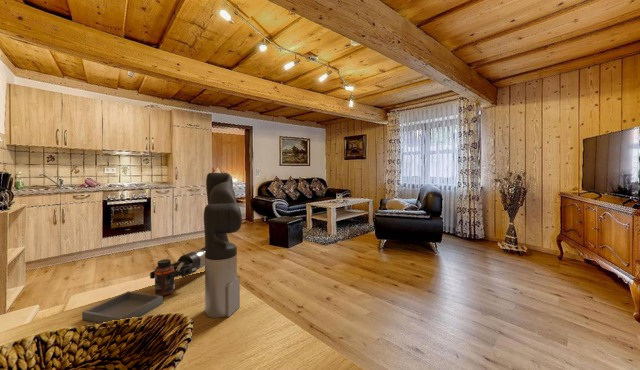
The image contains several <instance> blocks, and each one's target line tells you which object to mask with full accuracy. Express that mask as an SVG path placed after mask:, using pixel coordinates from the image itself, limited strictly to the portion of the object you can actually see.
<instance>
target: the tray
mask: <svg viewBox="0 0 640 370" xmlns="http://www.w3.org/2000/svg"><path fill="white" fill-rule="evenodd" d="M163 296H164V295H156V294H152V293H151V294H150V293H144V292H143V293H142V292H136V291H126V292H123V293H121V294H119V295H117V296H115V297H112V298H111V299H108V300H106V301H103V302H102V303H100V304H97V305H95V306H93V307H90V308H89V309H85V310H83V311H82V312H81V315H82V316H81V317H82V319H81V320H82V322H88V323H91V324H92V323H94V324H98V323H103V322H108V321H112V320H120V319H126V318H132V317H139V318H140V317H142V316H144V315H146V314H148V313H149V312H151V311H153V310H154V309H156V308H157V307H159V306H161V305H163V304H164V299H163Z"/></svg>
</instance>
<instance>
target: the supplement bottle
mask: <svg viewBox="0 0 640 370" xmlns="http://www.w3.org/2000/svg"><path fill="white" fill-rule="evenodd" d="M171 262H172V260H171V259H170V258H165V259H160V260H158V261H157V266H158V267H157V266H156V267H157V268H156V267H155V269H154V271H155V278H154V293H155V294H154V295H159V296H167V295H170V294H172V293H173V292H174V291H175V290H176V288H175V278H173V279H171V280H166V274H168V273H170V272H172V271H174V266H173V265H171Z"/></svg>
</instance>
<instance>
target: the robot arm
mask: <svg viewBox="0 0 640 370" xmlns="http://www.w3.org/2000/svg"><path fill="white" fill-rule="evenodd" d="M233 183H234V182H233V178H232V175H231V174H230V173H228V172H209V173H207V175H206V180H205V186H206V198H207V204H206V205H205V207H204V209H203V210H204V211H203V228H204V246H203V247H202V248H199V249H196V250H192V251H191V252H188V253H185V254H183V255H181V256H180V257H179V258H178V259H177V261H173V262H172V263H171V265H173V266H174V271H172V272H170V273H168V274H166V280H171V279H173V278H174V279H175V278H179V277H182V278H184V277H187V276H189V275H192V274H194V273H196V272H197V270H199V269H201V268H202V267H204V295H205V296H204V303H205V304H204V306H205V307H204V308H205V309H204V310H205V315H206V316H207V317H210V318H214V319H215V318H216V319H218V318H224V317H228V318H229V317H231V316H232V315H233V314H234V313H235V312H236V311H237V310H238V309H239V308H240V307H241V305H240V303H241V302H240V301H241V300H240V299H241V298H240V295H241V294H240V293H241V292H240V291H241V289H240V287H241V286H240V281H241V279H240V277H238V276H237V275H238V268H237V267H238V260H237V259H238V257H237V256H238V253H237V252H238V248H237V245H236V244H234V243H232V242H230V240H229V237H228V235H227V234H234V233H236V232H237V233H238V231H239V230H240V229H241V227H242V222H243V216H242V211H241V208H240V205H239V203H238V202H237V199H236V198H237V197H236V192H235V190H234V185H233ZM157 267H158V265H157V266H156V267H155V269H156V268H157ZM149 278H150V279H155V270H153V271H151V272H150V274H149Z"/></svg>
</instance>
